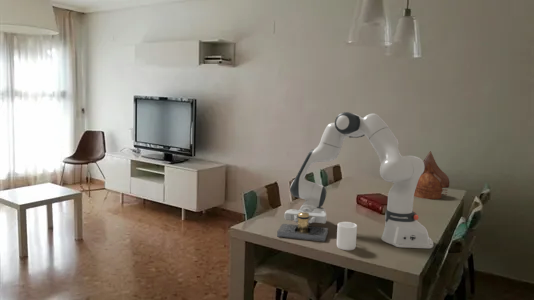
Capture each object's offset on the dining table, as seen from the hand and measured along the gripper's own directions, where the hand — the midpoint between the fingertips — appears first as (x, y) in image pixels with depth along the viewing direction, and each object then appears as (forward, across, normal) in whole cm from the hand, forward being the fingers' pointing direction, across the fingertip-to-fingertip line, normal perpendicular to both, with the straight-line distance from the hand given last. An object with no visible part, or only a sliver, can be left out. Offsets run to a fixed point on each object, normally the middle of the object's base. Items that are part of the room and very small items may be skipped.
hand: (303, 221), depth 203 cm
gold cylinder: (-1, 0, +7) cm, 7 cm away
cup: (+7, +21, +7) cm, 23 cm away
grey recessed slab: (-1, 0, +7) cm, 7 cm away
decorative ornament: (-104, +66, +8) cm, 123 cm away
